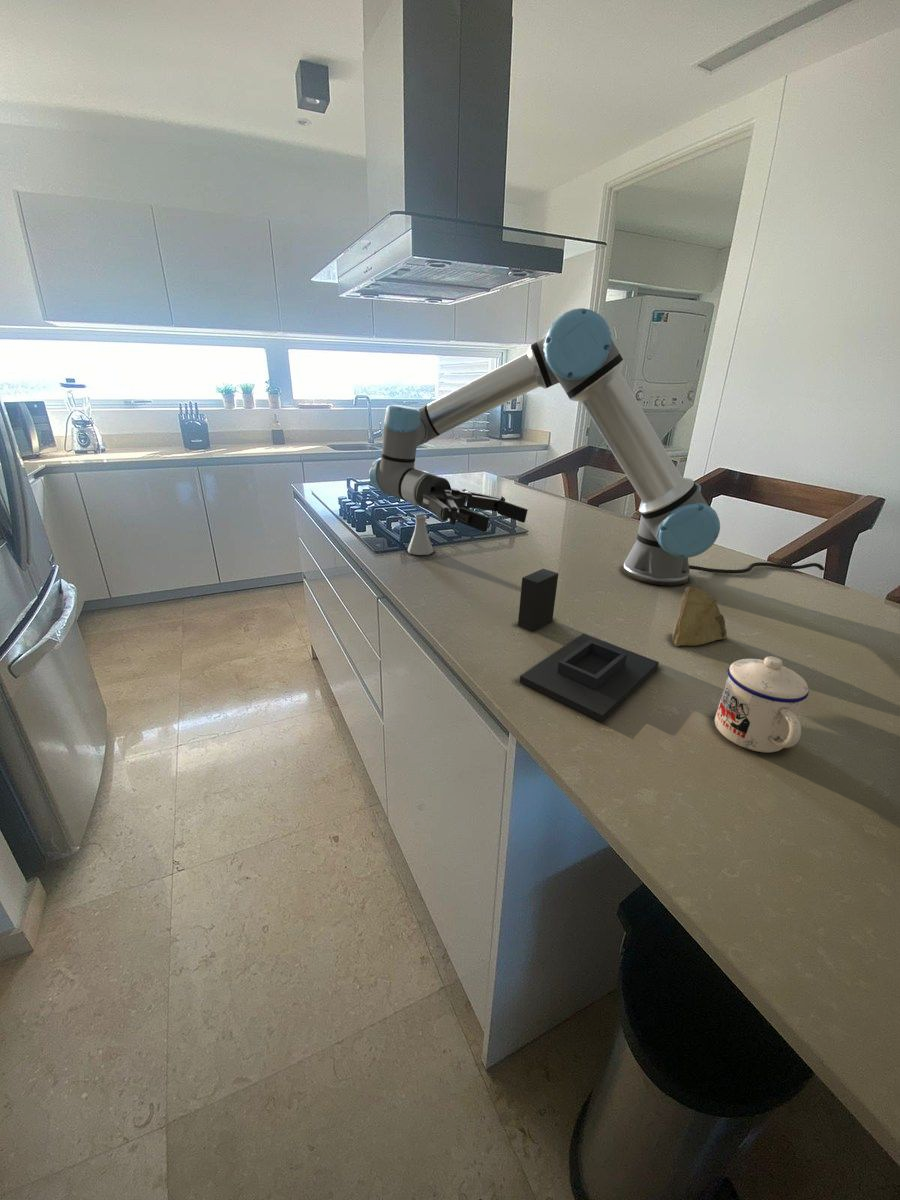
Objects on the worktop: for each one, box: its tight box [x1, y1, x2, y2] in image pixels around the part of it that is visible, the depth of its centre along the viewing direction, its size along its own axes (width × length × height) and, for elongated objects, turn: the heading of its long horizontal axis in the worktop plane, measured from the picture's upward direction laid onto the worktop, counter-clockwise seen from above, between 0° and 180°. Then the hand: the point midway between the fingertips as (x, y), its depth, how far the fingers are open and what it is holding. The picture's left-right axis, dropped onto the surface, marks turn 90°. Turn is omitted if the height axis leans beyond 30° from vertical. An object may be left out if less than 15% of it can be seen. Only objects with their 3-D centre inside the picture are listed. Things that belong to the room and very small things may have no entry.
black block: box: [517, 568, 559, 632], centre depth 93 cm, size 7×4×10 cm, turn 137°
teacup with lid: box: [714, 655, 810, 753], centre depth 63 cm, size 12×9×12 cm
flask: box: [407, 514, 434, 556], centre depth 131 cm, size 7×7×10 cm
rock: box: [671, 586, 728, 647], centre depth 89 cm, size 11×9×10 cm
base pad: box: [519, 633, 660, 723], centre depth 78 cm, size 20×14×3 cm
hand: (507, 520), depth 94 cm, fingers open, 13 cm apart
